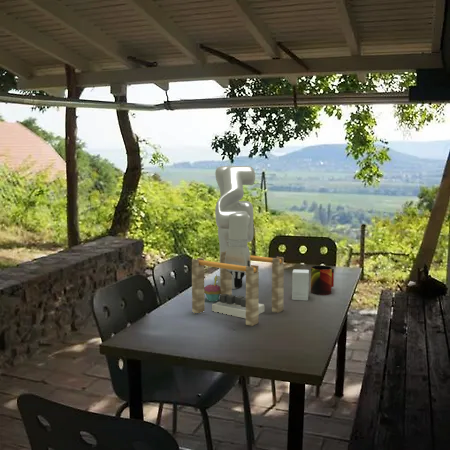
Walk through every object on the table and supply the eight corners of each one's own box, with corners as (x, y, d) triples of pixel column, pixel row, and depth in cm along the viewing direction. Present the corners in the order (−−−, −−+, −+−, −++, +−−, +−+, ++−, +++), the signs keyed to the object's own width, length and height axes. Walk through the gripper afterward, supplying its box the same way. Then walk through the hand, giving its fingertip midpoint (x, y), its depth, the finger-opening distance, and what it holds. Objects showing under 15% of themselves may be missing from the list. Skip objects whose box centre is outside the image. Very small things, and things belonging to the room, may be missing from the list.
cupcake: (225, 298, 224) (225, 272, 222) (217, 303, 216) (217, 276, 215) (208, 296, 227) (208, 271, 226) (199, 301, 220) (199, 275, 218)
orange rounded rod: (193, 264, 201) (193, 259, 201) (196, 263, 203) (196, 259, 202) (254, 273, 185) (254, 268, 184) (257, 272, 186) (257, 267, 186)
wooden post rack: (192, 312, 203) (191, 259, 200) (226, 299, 222) (226, 250, 220) (252, 326, 186) (252, 267, 183) (283, 310, 206) (283, 257, 203)
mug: (333, 288, 241) (334, 264, 239) (330, 296, 228) (330, 270, 226) (313, 287, 244) (314, 263, 243) (309, 294, 231) (309, 269, 230)
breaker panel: (212, 311, 205) (211, 297, 204) (228, 304, 214) (228, 291, 214) (248, 319, 194) (248, 304, 194) (264, 311, 204) (264, 297, 203)
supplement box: (308, 300, 220) (308, 273, 218) (291, 299, 221) (291, 272, 220) (308, 296, 227) (309, 269, 226) (292, 295, 229) (292, 268, 227)
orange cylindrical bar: (221, 256, 217) (221, 252, 217) (224, 256, 219) (224, 251, 219) (280, 264, 201) (280, 259, 201) (282, 263, 202) (282, 258, 202)
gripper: (217, 242, 202) (218, 286, 204) (248, 246, 193) (248, 291, 196) (228, 240, 208) (228, 283, 210) (258, 243, 199) (258, 288, 202)
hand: (238, 287), depth 203 cm, fingers closed
